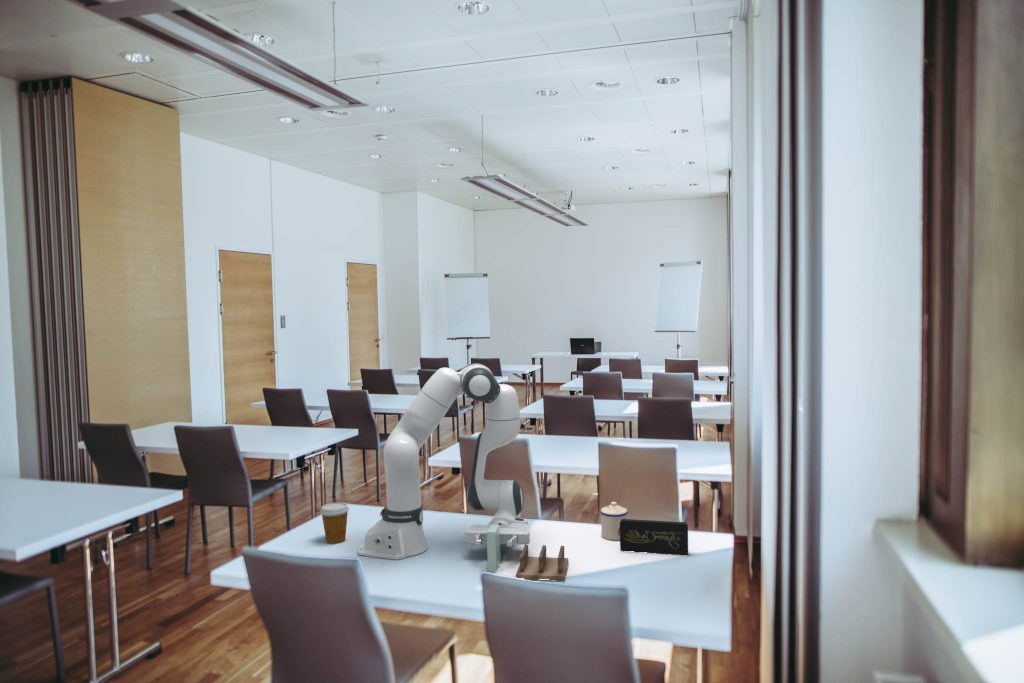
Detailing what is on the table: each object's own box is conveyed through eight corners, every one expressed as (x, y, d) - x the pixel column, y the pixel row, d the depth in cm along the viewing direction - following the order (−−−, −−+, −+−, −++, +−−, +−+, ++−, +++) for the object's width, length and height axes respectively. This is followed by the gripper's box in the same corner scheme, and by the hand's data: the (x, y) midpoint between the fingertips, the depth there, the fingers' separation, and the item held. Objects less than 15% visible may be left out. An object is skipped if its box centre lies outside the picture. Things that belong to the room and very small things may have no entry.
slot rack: (515, 579, 194) (515, 559, 193) (523, 561, 207) (522, 542, 207) (564, 581, 191) (563, 560, 191) (568, 563, 205) (568, 543, 205)
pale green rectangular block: (487, 571, 200) (486, 532, 199) (492, 562, 207) (491, 524, 206) (496, 572, 200) (494, 532, 199) (500, 563, 206) (499, 524, 206)
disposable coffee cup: (350, 543, 227) (348, 508, 227) (321, 546, 225) (319, 511, 224) (349, 534, 237) (348, 501, 236) (321, 537, 234) (320, 503, 234)
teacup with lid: (622, 542, 221) (621, 507, 221) (596, 538, 226) (596, 504, 225) (634, 531, 232) (634, 498, 231) (610, 528, 236) (609, 495, 236)
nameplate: (688, 553, 210) (687, 522, 210) (688, 556, 208) (687, 524, 208) (620, 549, 216) (620, 518, 215) (620, 551, 214) (619, 520, 213)
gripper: (470, 518, 218) (459, 532, 205) (532, 519, 215) (526, 534, 201) (470, 537, 219) (460, 552, 205) (533, 539, 215) (526, 555, 202)
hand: (493, 543), depth 203 cm, fingers open, 8 cm apart
